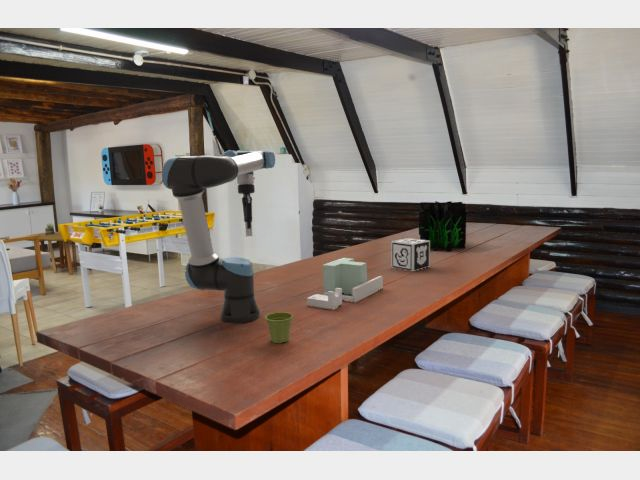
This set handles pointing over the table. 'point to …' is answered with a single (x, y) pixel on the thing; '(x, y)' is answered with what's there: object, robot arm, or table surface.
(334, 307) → the bracket
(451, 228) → the decorative plant
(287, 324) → the plant pot
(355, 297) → the white u channel
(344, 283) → the t block
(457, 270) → the table surface
